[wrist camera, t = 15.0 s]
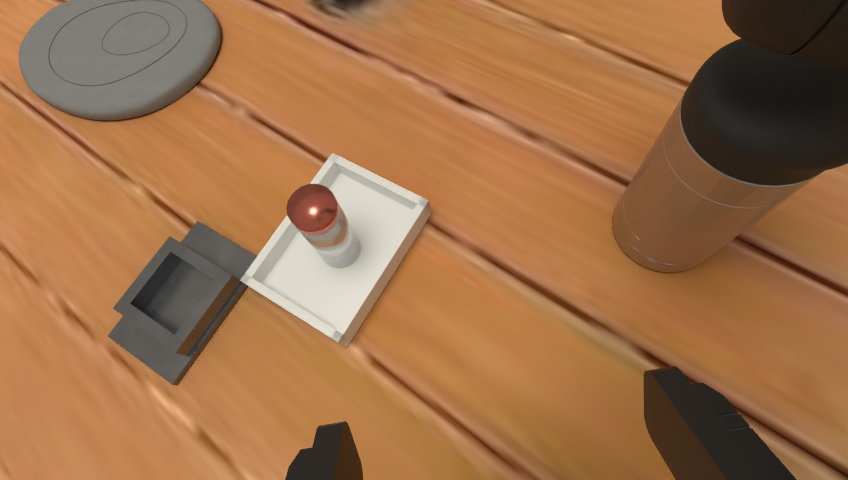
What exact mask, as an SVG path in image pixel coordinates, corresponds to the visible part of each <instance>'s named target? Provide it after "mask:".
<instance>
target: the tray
mask: <svg viewBox="0 0 848 480" xmlns="http://www.w3.org/2000/svg"><path fill="white" fill-rule="evenodd" d="M310 184H320V185H323V186H325V187H327V188H328V189H330V190H331V192H332V193H333V195H334V196H335V198H336V200H337V202H338V203H339V205H340V207H341V209H342V210H343V212H344V214H345V216H346V217H347V219H348V221H349V223H350V225H351V226H352V228H353V230H354V232H355V233H356V235H357V237H358V239H359V240H360V243H361V252H360V255H359V257H358V259H357V260H356V261H355V262H354V263H353V264H352V265H350V266H348V267H345V268H334V267H331V266H329V265H328V264H327V263H326V262H325V261H324V260H323V259H322V258H321V256H320V255H319V254H318V253H317V252H316V250H315V249H314V248H313V247H312V246H311V245H310V243H309V242H308V241H307V240H306V239H305V237H304V236H303V235H302V234H301V233H300V232H299V230H298V229H297V228H296V227H295V226H294V224H293V223H292V222H291V221H290V219H289V217H288V215H287V216H286V217H285V219H284V220H283V222H282V223H281V224H280V226H279V227H278V229H277V230H276V231H275V233H274V234H273V235H272V237H271V238H270V240H269V241H268V242H267V244H266V245H265V246H264V248H263V249H262V251H261V252H260V253H259V255H258V256H257V258H256V259H255V260H254V262H253V263H252V264H251V266H250V267H249V269H248V270H247V271H246V273H245V274H244V275H243V277H242V278H241V280H240V281H242V282H243V283H245V284H246V285H248V286H249V287H251V288H253V289H254V290H256V291H257V292H259V293H261V294H262V295H264V296H265V297H267V298H268V299H270V300H272V301H273V302H275V303H276V304H278V305H280V306H281V307H283V308H284V309H286V310H288V311H289V312H291V313H292V314H294V315H295V316H297V317H299V318H300V319H302V320H303V321H305V322H307V323H308V324H310V325H311V326H313V327H314V328H316V329H318V330H319V331H321V332H322V333H324V334H326V335H327V336H329V337H330V338H332V339H333V340H335V341H337V342H338V343H340V344H342V345H343V346H345V347H348V345H349V344H350V342H351V340H352V339H353V337H354V336H355V334H356V333H357V331H358V329H359V328H360V326H361V325H362V323H363V321H364V320H365V318H366V317H367V315H368V314H369V312H370V310H371V309H372V307H373V306H374V304H375V302H376V301H377V299H378V298H379V296H380V295H381V293H382V291H383V290H384V288H385V287H386V285H387V283H388V282H389V280H390V279H391V277H392V275H393V274H394V272H395V271H396V269H397V268H398V266H399V264H400V263H401V261H402V260H403V258H404V256H405V255H406V253H407V252H408V250H409V249H410V247H411V245H412V244H413V242H414V241H415V239H416V237H417V236H418V234H419V233H420V231H421V230H422V228H423V226H424V225H425V223H426V222H427V220H428V218H429V217H430V215H431V214H432V213H431V209H430V204H429V201H428V200H426V199H424V198H422V197H420V196H418V195H416V194H414V193H412V192H410V191H408V190H406V189H404V188H402V187H400V186H398V185H396V184H394V183H392V182H390V181H388V180H386V179H384V178H382V177H380V176H378V175H376V174H374V173H372V172H370V171H368V170H366V169H364V168H362V167H360V166H358V165H356V164H354V163H352V162H350V161H348V160H346V159H344V158H342V157H340V156H338V155H336V154H334V153H332V154H331V155H330V157H329V158H328V160H327V161H326V162H325V164H324V165H323V166H322V168H321V169H320V171H319V172H318V173H317V175H316V176H315V177H314V179H313V180H312V182H311V183H310Z"/></svg>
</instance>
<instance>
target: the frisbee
mask: <svg viewBox="0 0 848 480" xmlns="http://www.w3.org/2000/svg"><path fill="white" fill-rule="evenodd" d="M220 40H221V32H220V26H219V23H218V21H217V19H216V17H215V15H214V14H213V12H212V11H211V10H210V9H209V7H208V6H207V5H205V4H204V3H203V2H202V1H200V0H70V1H67V2H65V3H63V4H61V5H59V6H57V7H55V8H53V9H52V10H50V11H49V12H48V13H46V14H45V15H44V16H43V17H41V18H40V19H39V20H38V21H37V22H36V23H35V24H34V25H33V27H32V28H31V29H30V30H29V32H28V33H27V35H26V36H25V38H24V40H23V42H22V44H21V47H20V51H19V64H20V69H21V72H22V75H23V77H24V80H25V82H26V83H27V85H28V86H29V88H30V89H31V90H32V91H33V92H34V93H35V94H36V95H37V96H38V97H40V98H41V99H42V100H44V101H45V102H47V103H48V104H50V105H52V106H53V107H55V108H57V109H59V110H62V111H64V112H66V113H69V114H72V115H75V116H79V117H83V118H88V119H94V120H123V119H129V118H134V117H138V116H142V115H145V114H149V113H151V112H154V111H156V110H159V109H161V108H163V107H165V106H167V105H169V104H171V103H173V102H174V101H176V100H178V99H179V98H181V97H182V96H183V95H185V94H186V93H187V92H188V91H189V90H190V89H191V88H193V87H194V86H195V85H196V84H197V83H198V82H199V81H200V80H201V78H202V77H203V76H204V75H205V74H206V72H207V71H208V69H209V68H210V66H211V65H212V63H213V61H214V59H215V57H216V54H217V52H218V49H219V46H220Z"/></svg>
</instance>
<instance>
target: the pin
mask: <svg viewBox="0 0 848 480" xmlns="http://www.w3.org/2000/svg"><path fill="white" fill-rule="evenodd" d="M287 215H288V217H289V219H290V221H291V222H292V223H293V224H294V226H295V227H296V228H297V229H298V230H299V232H300V233H301V234H302V235H303V236H304V237H305V239H306V240H307V241H308V242H309V243H310V245H311V246H312V247H313V248H314V249H315V250H316V252H317V253H318V254H319V255H320V256H321V258H322V259H323V260H324V261H325V262H326V263H327V264H328V265H329V266H331V267H334V268H345V267H348V266H350V265H352V264H353V263H354V262H355V261H356V260H357V259H358V257H359V255H360V252H361V243H360V240H359V239H358V237H357V235H356V233H355V232H354V230H353V228H352V226H351V225H350V223H349V221H348V219H347V217H346V216H345V214H344V212H343V210H342V209H341V207H340V205H339V203H338V202H337V200H336V198H335V196H334V195H333V193H332V192H331V190H330V189H328V188H327V187H325V186H323V185H320V184H308V185H305V186H302V187H300V188H299V189H297V190H296V191H295V192H294V193H293V194H292V195H291V197H290V198H289V200H288V203H287Z"/></svg>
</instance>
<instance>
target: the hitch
mask: <svg viewBox="0 0 848 480" xmlns="http://www.w3.org/2000/svg"><path fill="white" fill-rule="evenodd" d="M256 258H257V257H256V256H255V255H253V254H251V253H250V252H248V251H246V250H245V249H243V248H241V247H240V246H238V245H236V244H235V243H233V242H231V241H230V240H228V239H226V238H225V237H223V236H221V235H220V234H218V233H217V232H215V231H213V230H212V229H210V228H208V227H207V226H205V225H203V224H202V223H200V222H198V221H197V222H196V224H195V225H194V226H193V227H192V229H191V230H190V231H189V232H188V234H187V235H186V236H185V238H184V239H183V240H182V241H181V243H180V242H178V241H177V240H175V239H173V238H172V237H169V238H168V239H167V241H166V242H165V243H164V244H163V246H162V247H161V248H160V249H159V251H158V252H157V253H156V254H155V256H154V257H153V258H152V259H151V261H150V262H149V263H148V265H147V266H146V267H145V268H144V270H143V271H142V272H141V273H140V275H139V276H138V277H137V278H136V280H135V281H134V282H133V284H132V285H131V286H130V287H129V289H128V290H127V291H126V292H125V294H124V295H123V296H122V297H121V299H120V300H119V301H118V302H117V304H116V305H115V306H114V308H113V309H115V310H116V311H118V312H119V313H120V314H122V315H123V317H122V318H121V320H120V321H119V322H118V323H117V325H116V326H115V327H114V329H113V330H112V331H111V332H110V334H109V335H108V337H110V338H111V339H112V340H114V341H115V342H116V343H118V344H119V345H120V346H122V347H123V348H124V349H126V350H127V351H128V352H130V353H131V354H132V355H134V356H135V357H136V358H138V359H139V360H140V361H142V362H143V363H144V364H146V365H147V366H148V367H150V368H151V369H152V370H154V371H155V372H156V373H158V374H159V375H160V376H162V377H163V378H164V379H166V380H167V381H168V382H170V383H171V384H173V385H178V383H179V382H180V380H181V379H182V378H183V376H184V375H185V374H186V372H187V371H188V369H189V368H190V367H191V365H192V364H193V362H194V361H195V360H196V358H197V357H198V355H199V354H200V353H201V351H202V350H203V348H204V347H205V346H206V344H207V343H208V341H209V340H210V339H211V337H212V336H213V334H214V333H215V332H216V330H217V329H218V328H219V326H220V325H221V323H222V322H223V321H224V319H225V318H226V316H227V315H228V314H229V312H230V311H231V309H232V308H233V307H234V305H235V304H236V302H237V301H238V300H239V298H240V297H241V295H242V294H243V293H244V291H245V290H246V288H247V287H248V285H246V284H245V283H243V282H242V281H240V280H241V278H242V277H243V275H244V274H245V273H246V271H247V270H248V269H249V267H250V266H251V264H252V263H253V262H254V260H255V259H256Z"/></svg>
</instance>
